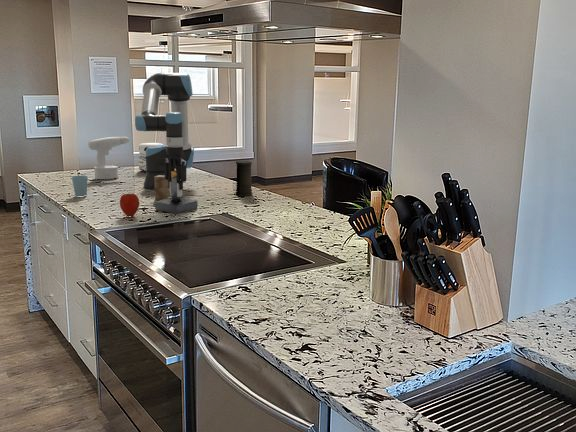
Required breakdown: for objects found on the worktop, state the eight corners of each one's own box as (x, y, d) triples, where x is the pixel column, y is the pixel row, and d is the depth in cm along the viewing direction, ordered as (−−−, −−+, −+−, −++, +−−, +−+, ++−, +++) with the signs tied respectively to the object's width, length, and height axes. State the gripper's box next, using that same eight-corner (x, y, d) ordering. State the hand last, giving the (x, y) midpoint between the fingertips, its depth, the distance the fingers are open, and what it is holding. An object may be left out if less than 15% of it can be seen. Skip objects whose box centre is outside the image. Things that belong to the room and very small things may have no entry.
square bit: (155, 199, 291) (154, 176, 288) (160, 197, 296) (159, 175, 293) (163, 200, 289) (162, 177, 287) (168, 198, 294) (168, 175, 291)
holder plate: (155, 210, 269) (154, 201, 268) (176, 204, 280) (176, 196, 280) (176, 214, 262) (176, 205, 261) (197, 208, 273) (197, 200, 272)
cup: (83, 198, 291) (82, 178, 288) (70, 197, 292) (68, 177, 290) (91, 195, 298) (90, 175, 295) (78, 194, 300) (77, 175, 297)
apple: (134, 213, 261) (133, 190, 259) (143, 217, 256) (142, 193, 253) (116, 216, 256) (115, 192, 253) (126, 220, 250) (125, 195, 247)
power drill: (132, 177, 351) (130, 136, 345) (92, 180, 338) (89, 138, 332) (128, 175, 358) (126, 135, 352) (88, 178, 345) (86, 137, 339)
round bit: (170, 204, 270) (169, 171, 266) (176, 203, 273) (175, 170, 269) (176, 205, 268) (175, 171, 264) (182, 204, 271) (181, 170, 267)
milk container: (134, 173, 368) (133, 145, 363) (145, 168, 384) (144, 142, 380) (159, 174, 365) (158, 146, 361) (169, 170, 381) (168, 143, 377)
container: (253, 193, 311) (253, 160, 307) (250, 196, 302) (250, 163, 298) (237, 192, 312) (237, 160, 308) (234, 196, 303) (234, 162, 299)
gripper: (155, 145, 265) (157, 194, 271) (182, 148, 256) (183, 199, 262) (167, 144, 271) (168, 192, 277) (194, 146, 262) (195, 196, 268)
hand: (176, 195), depth 269 cm, fingers closed on round bit, 4 cm apart
